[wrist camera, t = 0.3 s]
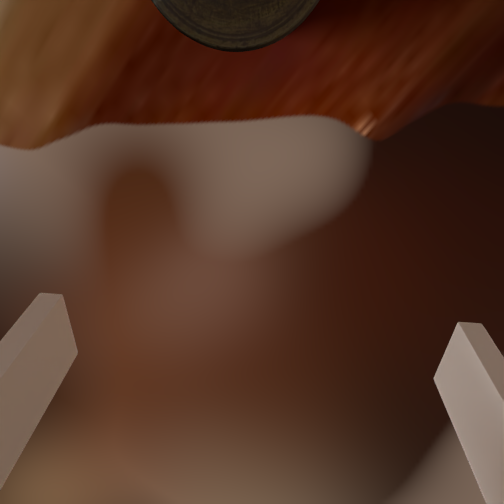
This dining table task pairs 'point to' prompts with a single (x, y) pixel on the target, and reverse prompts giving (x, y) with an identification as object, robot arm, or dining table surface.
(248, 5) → the container
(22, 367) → the robot arm
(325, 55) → the dining table surface
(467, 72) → the dining table surface
